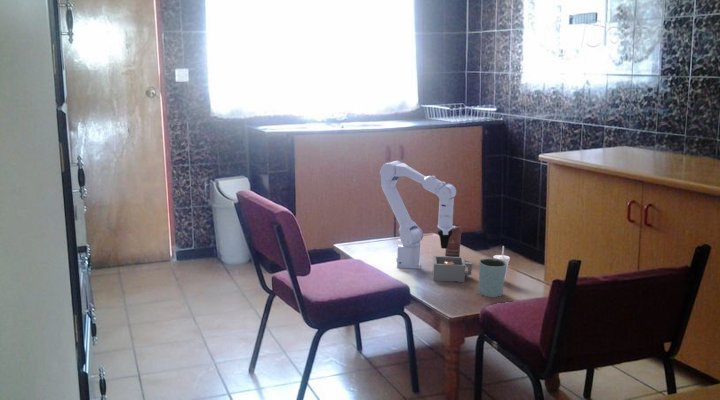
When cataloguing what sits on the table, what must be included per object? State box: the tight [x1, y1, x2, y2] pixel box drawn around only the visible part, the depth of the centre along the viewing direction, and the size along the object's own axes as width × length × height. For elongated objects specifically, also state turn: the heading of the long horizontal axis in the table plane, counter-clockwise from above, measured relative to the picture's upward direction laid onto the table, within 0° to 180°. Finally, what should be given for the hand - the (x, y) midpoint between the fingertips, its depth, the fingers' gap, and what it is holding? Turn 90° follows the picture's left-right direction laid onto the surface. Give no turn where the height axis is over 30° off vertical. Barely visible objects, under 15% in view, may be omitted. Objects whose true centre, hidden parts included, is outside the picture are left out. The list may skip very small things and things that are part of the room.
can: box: [444, 224, 463, 257], centre depth 314 cm, size 6×6×14 cm
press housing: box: [432, 255, 473, 283], centre depth 287 cm, size 15×12×6 cm
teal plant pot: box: [478, 258, 508, 298], centre depth 268 cm, size 10×10×12 cm
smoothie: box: [492, 245, 511, 283], centre depth 283 cm, size 6×6×14 cm
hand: (443, 248), depth 292 cm, fingers closed
